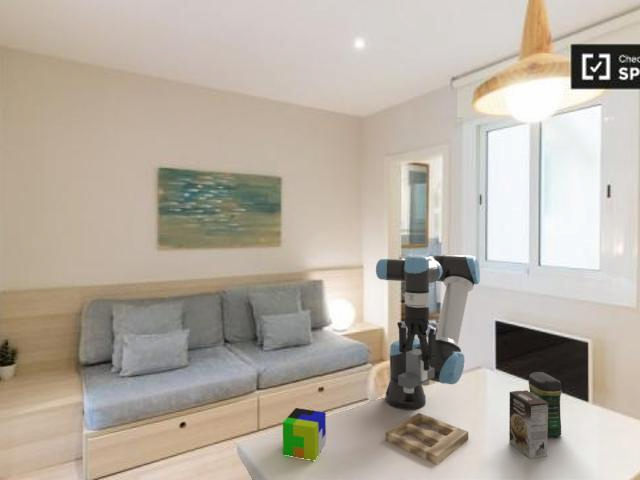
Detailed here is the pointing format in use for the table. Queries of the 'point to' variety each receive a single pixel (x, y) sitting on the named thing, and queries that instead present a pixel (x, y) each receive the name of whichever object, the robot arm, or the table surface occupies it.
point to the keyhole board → (427, 437)
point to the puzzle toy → (304, 433)
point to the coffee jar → (548, 399)
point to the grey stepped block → (414, 372)
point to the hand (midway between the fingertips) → (416, 377)
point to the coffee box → (528, 423)
